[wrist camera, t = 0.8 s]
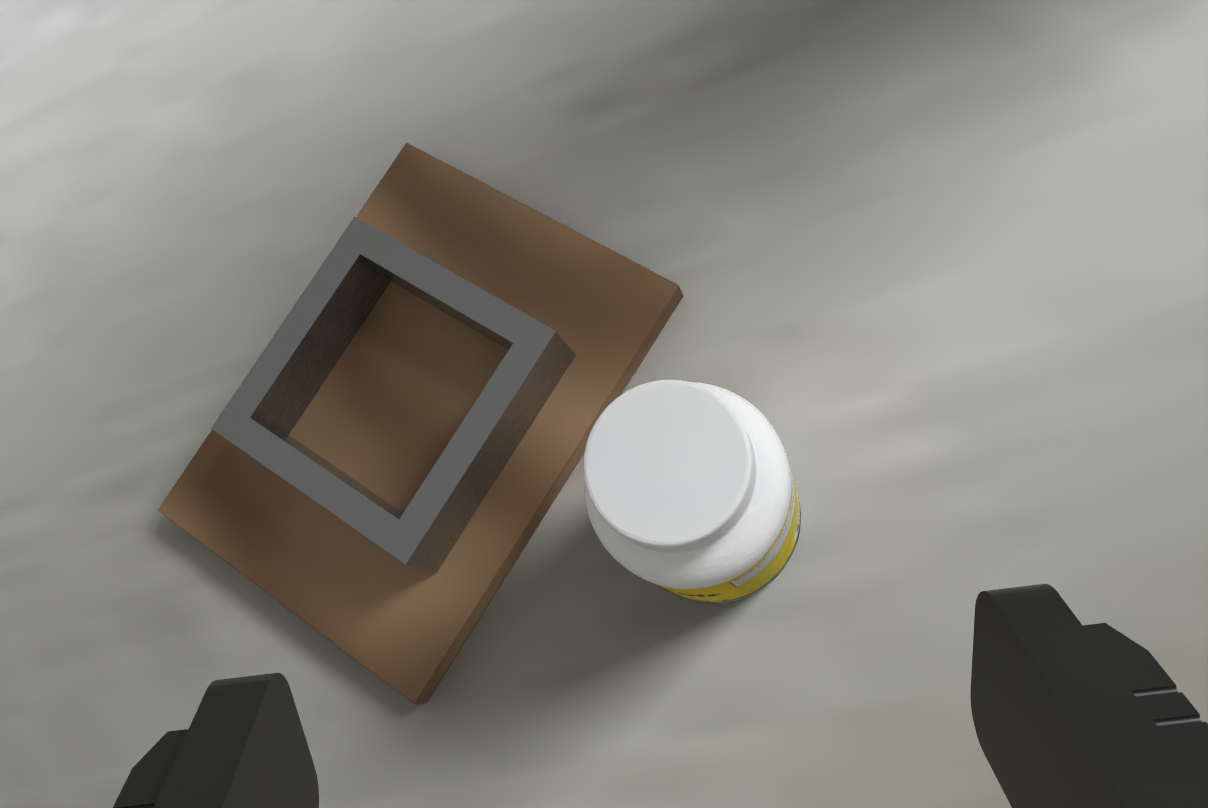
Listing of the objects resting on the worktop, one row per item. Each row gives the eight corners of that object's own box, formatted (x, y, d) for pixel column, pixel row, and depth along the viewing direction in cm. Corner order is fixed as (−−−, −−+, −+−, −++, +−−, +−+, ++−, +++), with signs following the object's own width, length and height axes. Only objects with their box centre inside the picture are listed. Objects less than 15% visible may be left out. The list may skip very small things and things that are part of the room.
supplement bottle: (600, 532, 34) (507, 474, 25) (705, 406, 34) (653, 302, 25) (727, 642, 32) (679, 626, 23) (838, 508, 32) (834, 438, 23)
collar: (385, 246, 37) (354, 217, 35) (575, 354, 34) (555, 330, 32) (252, 445, 36) (211, 428, 34) (436, 572, 34) (405, 564, 31)
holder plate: (417, 155, 39) (406, 142, 38) (683, 296, 35) (678, 285, 34) (174, 514, 37) (157, 510, 36) (426, 703, 34) (414, 703, 33)
